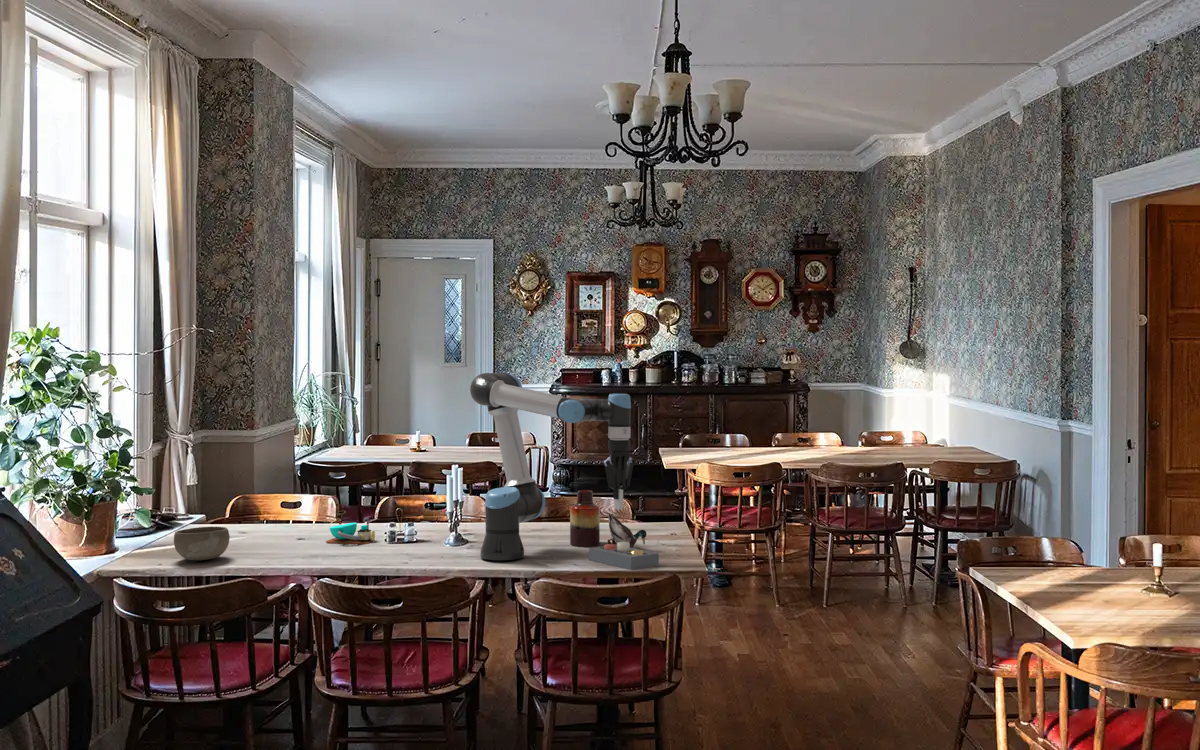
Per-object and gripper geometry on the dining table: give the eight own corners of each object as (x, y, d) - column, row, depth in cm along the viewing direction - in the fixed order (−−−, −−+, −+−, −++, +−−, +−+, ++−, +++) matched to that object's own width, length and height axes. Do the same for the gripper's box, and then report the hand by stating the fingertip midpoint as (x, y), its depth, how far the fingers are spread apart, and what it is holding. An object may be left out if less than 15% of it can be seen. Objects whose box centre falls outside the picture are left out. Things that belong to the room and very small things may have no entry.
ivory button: (622, 554, 339) (622, 544, 339) (614, 553, 343) (614, 542, 343) (632, 553, 342) (632, 542, 342) (624, 551, 345) (624, 541, 345)
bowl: (170, 556, 353) (170, 527, 353) (224, 552, 362) (224, 524, 362) (177, 564, 338) (177, 534, 338) (233, 560, 347) (233, 530, 347)
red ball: (609, 556, 345) (609, 546, 345) (601, 555, 348) (601, 545, 348) (618, 555, 347) (618, 545, 347) (611, 553, 351) (611, 543, 351)
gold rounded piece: (636, 562, 334) (636, 552, 334) (627, 561, 337) (627, 550, 337) (645, 561, 337) (645, 550, 337) (637, 559, 340) (637, 549, 340)
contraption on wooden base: (364, 548, 372) (364, 506, 372) (318, 546, 375) (318, 505, 375) (379, 542, 386) (379, 502, 386) (334, 540, 389) (334, 501, 389)
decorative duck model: (654, 540, 366) (638, 501, 369) (644, 543, 359) (628, 503, 363) (621, 554, 373) (606, 516, 376) (611, 558, 366) (595, 518, 369)
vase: (605, 546, 375) (605, 491, 375) (584, 549, 368) (584, 493, 368) (585, 543, 383) (585, 488, 383) (564, 546, 375) (564, 490, 375)
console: (630, 569, 330) (630, 557, 330) (589, 560, 347) (589, 548, 347) (658, 565, 337) (658, 553, 337) (616, 556, 355) (616, 544, 355)
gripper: (611, 440, 340) (610, 511, 340) (641, 439, 348) (640, 508, 348) (597, 439, 345) (596, 508, 346) (627, 437, 354) (626, 506, 354)
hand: (618, 508), depth 347 cm, fingers closed
